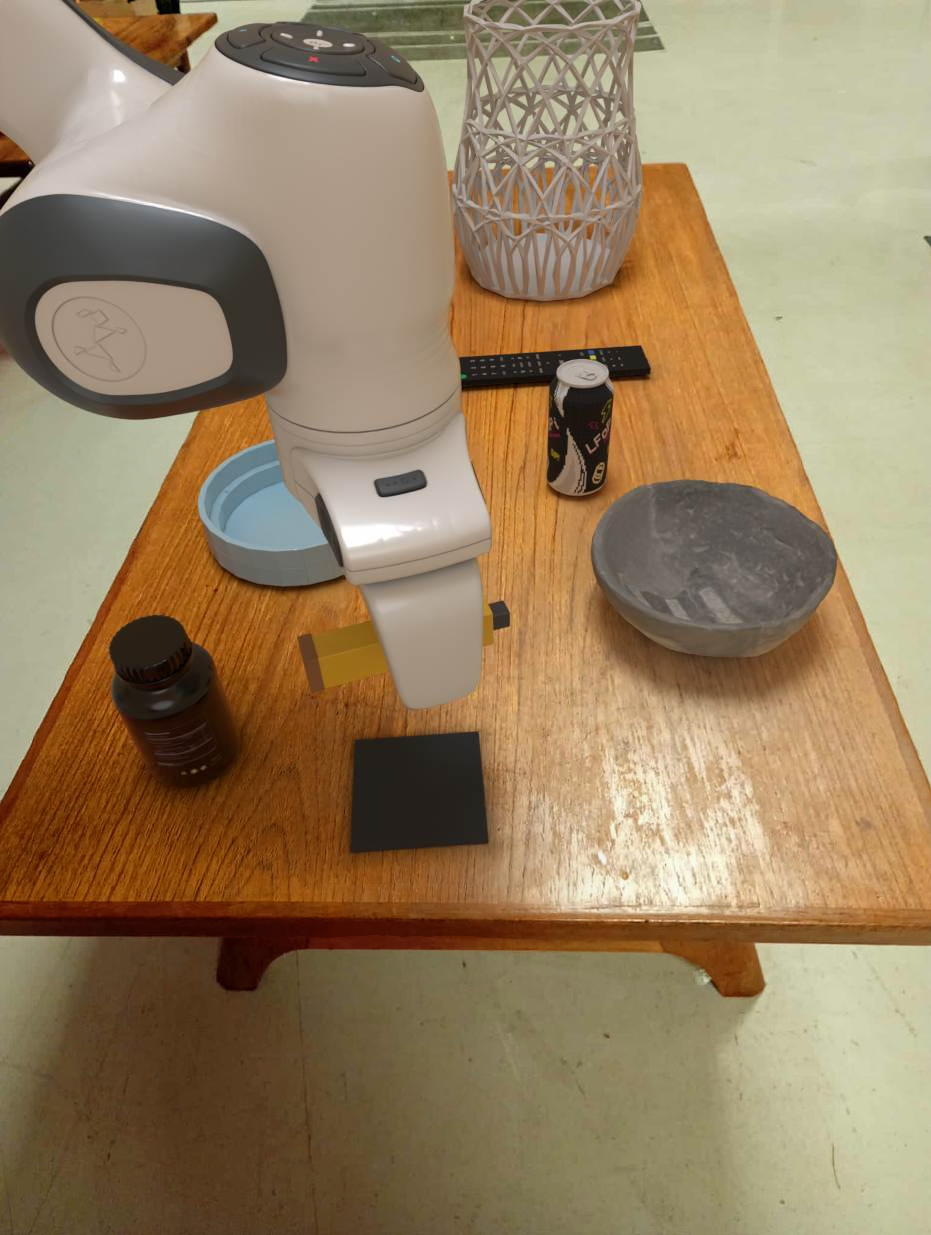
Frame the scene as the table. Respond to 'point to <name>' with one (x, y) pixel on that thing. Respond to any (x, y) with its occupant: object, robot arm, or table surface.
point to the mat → (417, 792)
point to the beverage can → (579, 427)
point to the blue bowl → (262, 523)
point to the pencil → (367, 650)
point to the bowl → (712, 566)
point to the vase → (547, 159)
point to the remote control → (548, 364)
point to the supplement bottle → (172, 703)
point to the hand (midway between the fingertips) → (397, 638)
